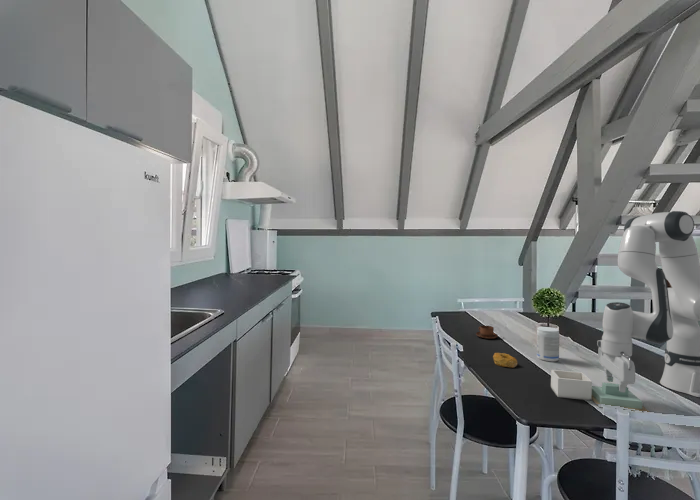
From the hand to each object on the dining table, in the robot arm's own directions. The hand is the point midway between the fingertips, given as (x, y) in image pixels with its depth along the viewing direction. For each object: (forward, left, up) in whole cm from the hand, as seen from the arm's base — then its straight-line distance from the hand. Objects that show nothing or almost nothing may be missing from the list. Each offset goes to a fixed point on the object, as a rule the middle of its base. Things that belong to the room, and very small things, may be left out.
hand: (615, 386), depth 131 cm
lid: (0, 0, -5) cm, 5 cm away
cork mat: (0, 0, -6) cm, 6 cm away
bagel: (+32, -31, -6) cm, 45 cm away
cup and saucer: (+35, -76, -6) cm, 84 cm away
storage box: (+14, -3, -6) cm, 15 cm away
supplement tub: (+11, -44, -6) cm, 46 cm away
